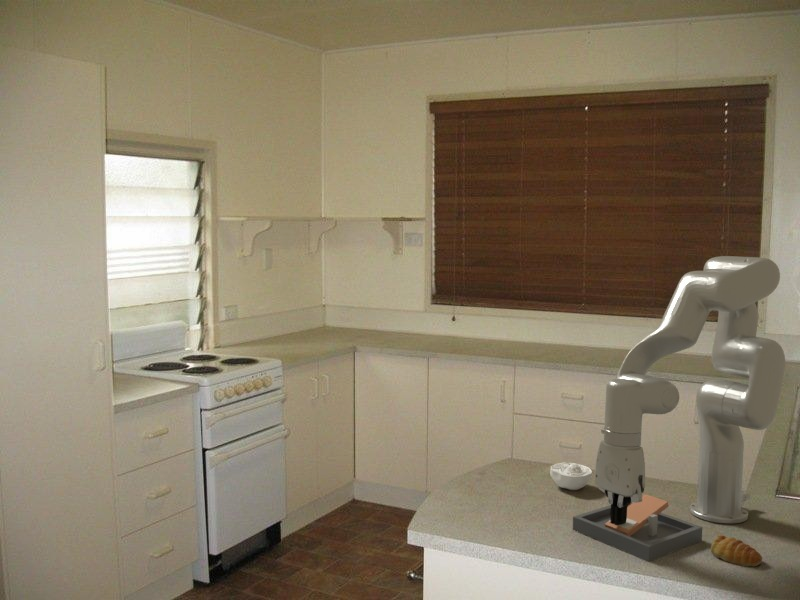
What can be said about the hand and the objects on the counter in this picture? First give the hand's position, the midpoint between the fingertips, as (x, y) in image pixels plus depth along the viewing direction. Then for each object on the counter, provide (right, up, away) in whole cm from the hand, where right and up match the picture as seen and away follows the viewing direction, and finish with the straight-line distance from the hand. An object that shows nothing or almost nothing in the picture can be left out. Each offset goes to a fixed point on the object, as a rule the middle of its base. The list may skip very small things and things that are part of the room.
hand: (618, 523), depth 166 cm
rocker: (+5, +1, +3) cm, 6 cm away
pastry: (+21, -5, -7) cm, 23 cm away
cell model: (-3, -1, +35) cm, 35 cm away
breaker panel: (+5, -4, +4) cm, 7 cm away
